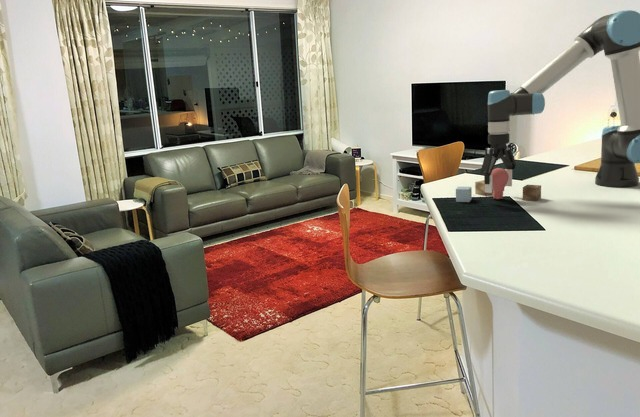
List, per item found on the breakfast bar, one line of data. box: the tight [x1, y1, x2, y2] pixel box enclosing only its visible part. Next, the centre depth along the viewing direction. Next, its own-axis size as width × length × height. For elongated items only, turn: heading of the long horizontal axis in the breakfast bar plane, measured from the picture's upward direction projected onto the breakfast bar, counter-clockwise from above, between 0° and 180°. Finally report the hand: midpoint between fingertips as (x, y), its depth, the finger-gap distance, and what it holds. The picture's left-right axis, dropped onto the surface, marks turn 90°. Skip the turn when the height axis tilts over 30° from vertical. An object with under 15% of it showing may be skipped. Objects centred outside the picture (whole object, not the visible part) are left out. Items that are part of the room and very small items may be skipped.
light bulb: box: [491, 167, 509, 200], centre depth 193 cm, size 7×7×12 cm
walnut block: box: [522, 184, 542, 202], centre depth 190 cm, size 5×5×5 cm
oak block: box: [474, 179, 494, 196], centre depth 205 cm, size 5×5×5 cm
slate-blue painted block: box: [455, 186, 472, 203], centre depth 196 cm, size 5×5×5 cm
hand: (498, 189), depth 193 cm, fingers open, 13 cm apart
